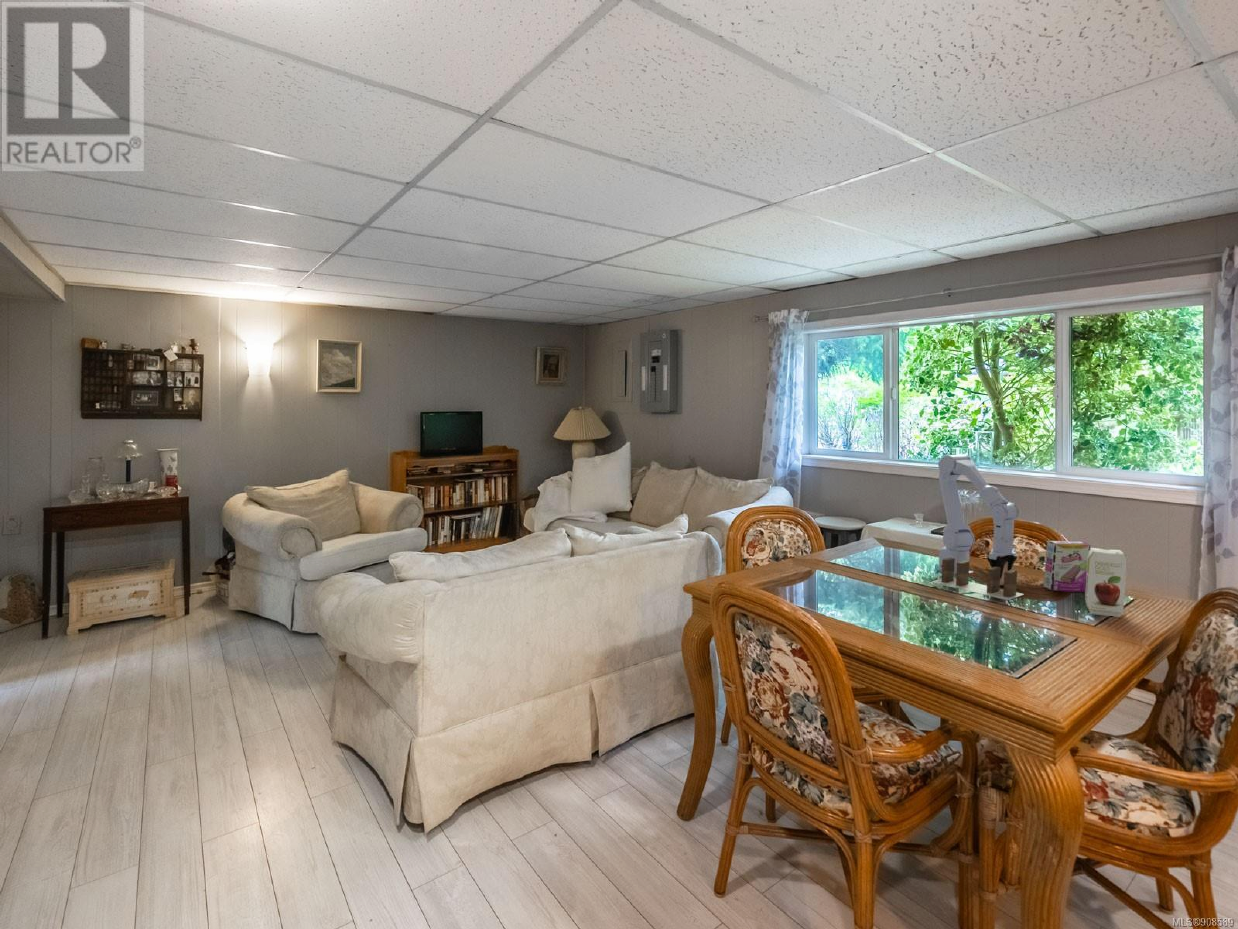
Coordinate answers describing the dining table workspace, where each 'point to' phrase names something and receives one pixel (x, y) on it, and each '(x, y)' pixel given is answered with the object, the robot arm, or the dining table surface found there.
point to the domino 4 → (1003, 573)
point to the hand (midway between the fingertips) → (1001, 576)
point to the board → (977, 589)
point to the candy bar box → (1066, 566)
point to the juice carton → (1105, 582)
